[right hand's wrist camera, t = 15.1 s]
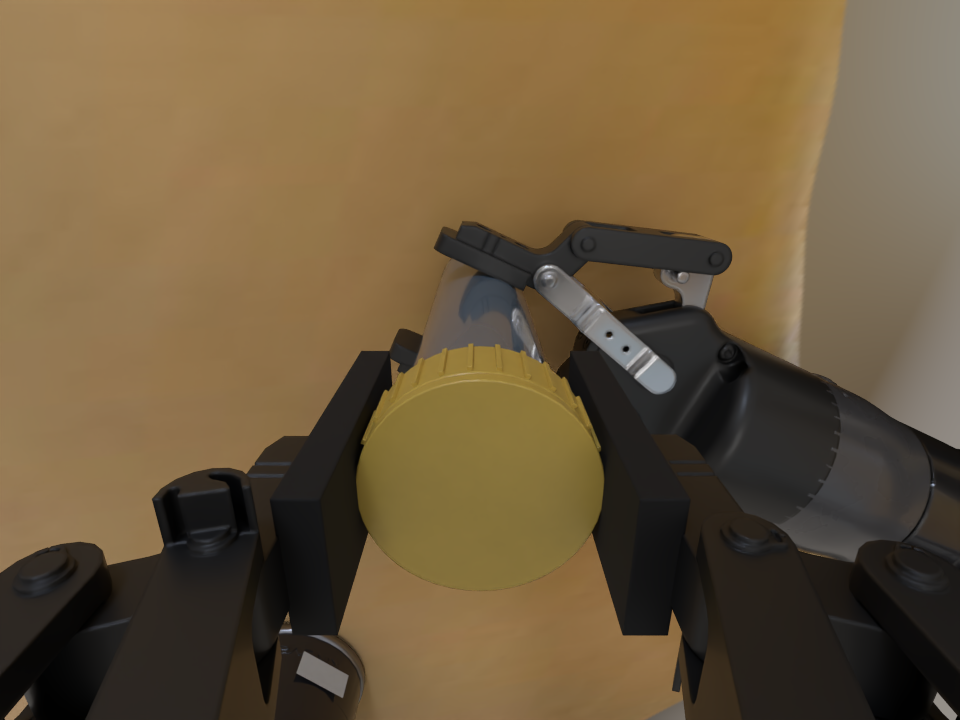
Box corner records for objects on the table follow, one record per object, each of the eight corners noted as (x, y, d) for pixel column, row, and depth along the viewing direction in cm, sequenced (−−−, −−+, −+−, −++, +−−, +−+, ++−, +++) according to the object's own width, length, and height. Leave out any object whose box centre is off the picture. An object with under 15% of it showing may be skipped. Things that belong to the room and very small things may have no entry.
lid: (551, 553, 13) (562, 614, 11) (353, 510, 13) (332, 567, 11) (621, 373, 11) (648, 412, 10) (394, 316, 11) (377, 346, 9)
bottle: (425, 283, 27) (341, 471, 11) (482, 229, 26) (486, 346, 10) (477, 337, 28) (475, 585, 12) (534, 287, 27) (618, 481, 11)
